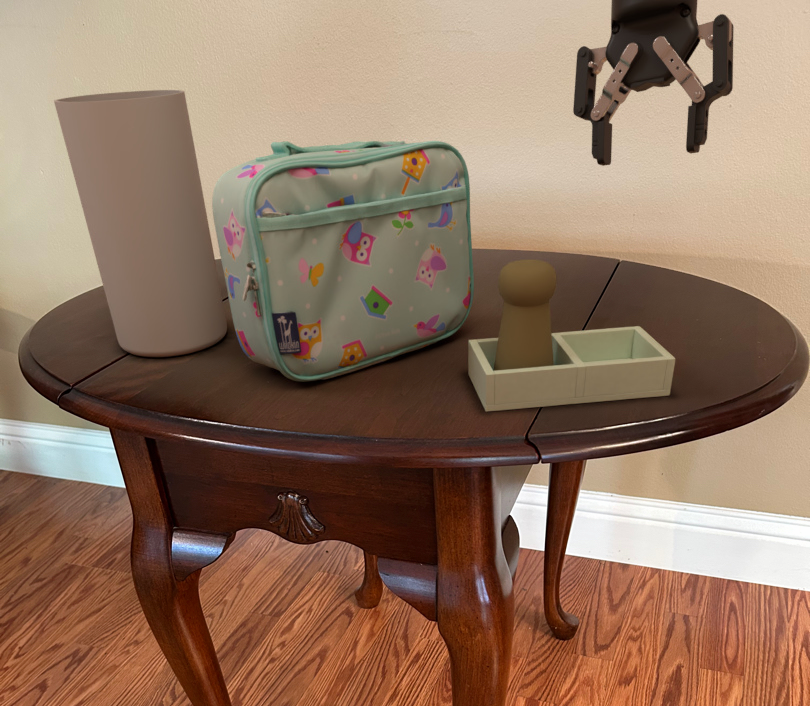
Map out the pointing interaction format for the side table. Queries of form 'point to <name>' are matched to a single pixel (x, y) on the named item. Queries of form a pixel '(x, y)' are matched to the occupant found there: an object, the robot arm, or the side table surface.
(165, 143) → the cylinder vase
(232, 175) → the lunch box
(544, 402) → the compartment tray
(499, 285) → the brown game pawn
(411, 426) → the side table surface
